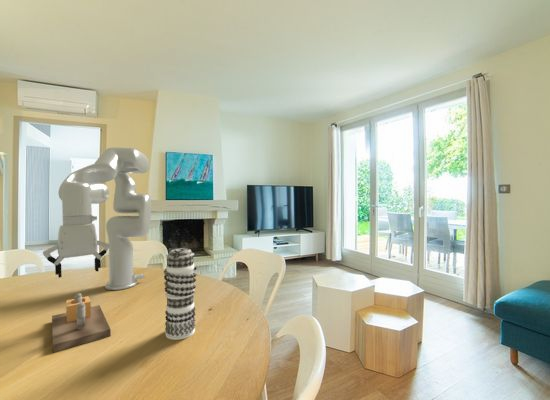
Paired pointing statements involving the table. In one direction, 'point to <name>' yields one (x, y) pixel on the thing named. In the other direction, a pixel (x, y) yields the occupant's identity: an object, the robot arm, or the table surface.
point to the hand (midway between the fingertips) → (78, 273)
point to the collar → (72, 309)
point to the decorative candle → (180, 294)
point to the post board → (79, 327)
